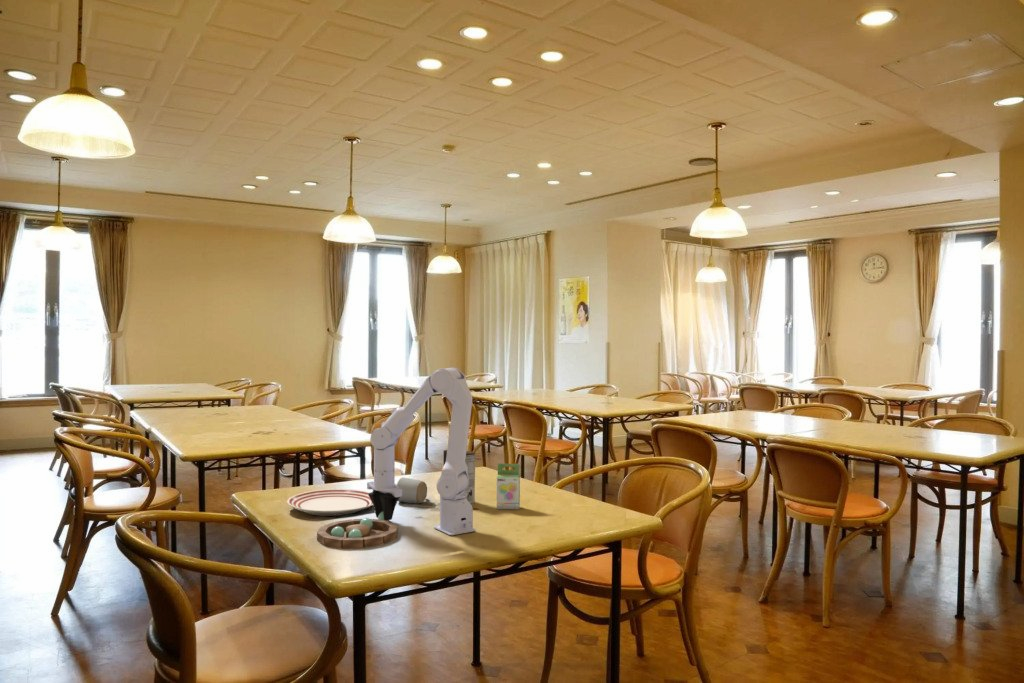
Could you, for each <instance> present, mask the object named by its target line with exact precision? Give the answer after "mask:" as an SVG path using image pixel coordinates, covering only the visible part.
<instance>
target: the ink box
mask: <svg viewBox="0 0 1024 683" xmlns="http://www.w3.org/2000/svg"><path fill="white" fill-rule="evenodd" d="M509 467H510V468H513V469H504V468H509ZM520 484H521V475H520V463H497V475H496V510H518V511H519V510H520V506H521V505H520V504H521V501H520V500H521V497H520V496H521V495H520V494H521V493H520V492H521V485H520Z"/></svg>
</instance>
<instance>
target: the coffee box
mask: <svg viewBox="0 0 1024 683" xmlns="http://www.w3.org/2000/svg"><path fill="white" fill-rule="evenodd" d="M446 456H447V449H445V450H443V465H444V464H445V462H446ZM465 463H466V465H467V467H468V469H467V474H468V477H469V485H468V487H467V489H466V490H465V491H466V498H467V501H468V502H469V503H470V504H474V503H475V500H476V499H475V497H476V496H475V494H476V452H474V451H470V450H466V458H465Z"/></svg>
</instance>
